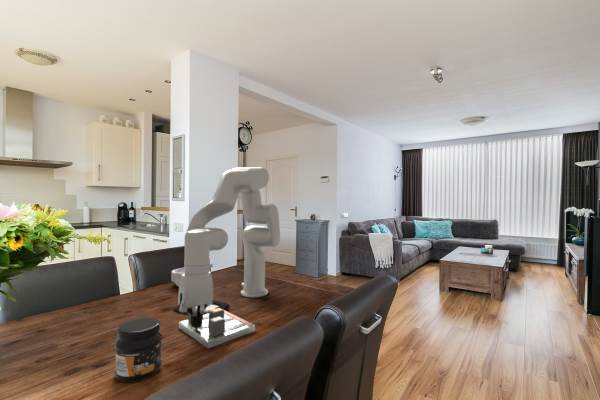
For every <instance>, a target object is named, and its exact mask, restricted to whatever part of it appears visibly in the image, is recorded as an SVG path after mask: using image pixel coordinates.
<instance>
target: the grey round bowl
mask: <svg viewBox="0 0 600 400" xmlns="http://www.w3.org/2000/svg"><path fill="white" fill-rule="evenodd" d="M182 274H184V267H180V268H176V269H173V270H171V282H173V283H174V284H175V285H176V287H178V288H179V285H180V280H181V275H182Z"/></svg>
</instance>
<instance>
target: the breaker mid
mask: <svg viewBox="0 0 600 400" xmlns="http://www.w3.org/2000/svg"><path fill="white" fill-rule="evenodd" d="M216 317H221V318H223V319H224V310H223V309H220V308H216V309H213V310H211V311H209V320H210V319H213V318H216Z"/></svg>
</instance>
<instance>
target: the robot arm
mask: <svg viewBox="0 0 600 400" xmlns="http://www.w3.org/2000/svg"><path fill="white" fill-rule="evenodd" d="M269 180H270V175H269V171H268V170H267V169H266V168H265V167H263V166H262V167H260V166H259V167H257V166H256V167H248V166H247V167H234V168H232V169H229V170H226V171H225V172H223V173H222V175H221V176H220V179H219V182H218V184H217V187H216V189H215V192H214V194H213V197H212V199H211V200H210V201H209V202H208V203H207V204H205V205H203V207H201V208H200V209H199V210H198V211H197V212H195V214H194V215H193V217H191V220H190V222H189V225H188V227H187V229H186V232H185V234H184V259H183V261H184V262H183V263H184V265H183V266H184V267H183V268H184V274H182V275H181V280H180V285H179V287H178V296H177V304H178V306H179V305H180V309H179V311H181V312H188V313H189V314H191V325H192V326H193V327H194V328H196V329H197V328H198V327H199V328H200V327H201V323H202V314H203V313H204V310H205V309H206V308H207V307H208V306H210V305H212V304H213V302H212V300H214V284H213V277H212V273H211V271H210V269H211V268H213V263H211V262H210V251H220V250H223V249H224V248H225V247H226V246H227V245H228V241H229V236H228V233H227V232H226V231H225V230H224V229H222V228H218V227H205V226H206V225H207V224H209V223H210V222H212V221H213V220H214V219H216V218H219V217H222V216H224V215H227V214H229V213H230V212H232V211H234V209H235V207H236V204H237V201H238V198H239V194H240V195H241V204H242V212H243V219H244V221H245V222H246V223H247V224H253V225H249V226H246V227H245V228H243V231H242V233H241V234H242V242H243V251H244V254H243V256H244V261H243V262H244V265H243V266H244V267H243V268H244V272H243V273H244V275H243V277H244V279H243V281H244V282H241V284H240V285H241V287H243V289H241V290H240V295H241V296H242V297H245V298H260V297H261V298H262V297H264V296H267V295H268V294H269V290H268V288H266V286H265V285H266V254H265V252H264V250H263V248H264V247H265V248H266V247H267V248H275V247H277V246H279V244H280V242H281V229H280V227H281V226H280V216H279V214H280V213H279V210H278V207H277V206H276V205H275V204H274V203H270V202H269V203H268V202H262V196H261V191H260V190H261V189H263V188H265V187H267V185H268V183H269ZM262 247H263V248H262ZM196 306H197V309H196Z"/></svg>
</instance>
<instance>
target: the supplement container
mask: <svg viewBox="0 0 600 400" xmlns="http://www.w3.org/2000/svg"><path fill="white" fill-rule="evenodd" d="M116 329H117V331H116V333H117V334H116V335H117V338H116V339H115V341H114V348H115V351H114V352H115V354H114V355H115V357H114V359H115V360H114V365H115V366H114V367H115V368H114V376H115V378H116V380H117V381H119V382H120V381H121V382H124V383H136V382H135V381H137V382H141V381H144V380H146V378H147V379H149V378H150V377H152V376H154V375H155V374H156V373H158V372H159V370H160V369H161V367H162V363H163V360H162V339H163V334H162V333H163V332H161V330H160V329H161V321H160V320H159V319H157V318H155V317H142V318H141V317H140V318H134V319H132V320H128V321H125V322H123V323H121V324H120V325H119V326H118V327H117V328H116ZM143 379H144V380H143ZM140 380H141V381H140Z"/></svg>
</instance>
